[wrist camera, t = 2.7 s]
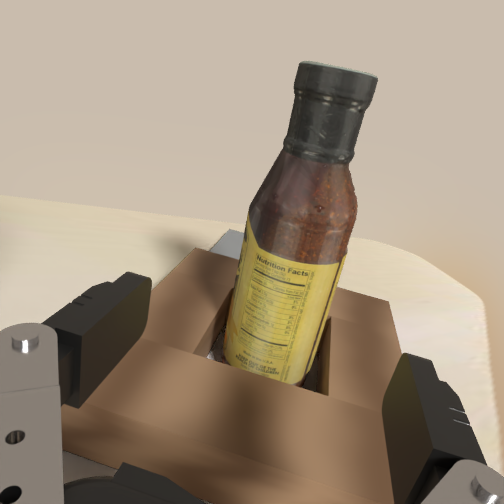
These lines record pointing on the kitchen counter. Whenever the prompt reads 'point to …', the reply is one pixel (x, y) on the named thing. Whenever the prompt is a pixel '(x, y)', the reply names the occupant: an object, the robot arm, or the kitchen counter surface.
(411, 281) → the kitchen counter surface
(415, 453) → the robot arm
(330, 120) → the sauce bottle
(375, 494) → the seat block
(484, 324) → the kitchen counter surface
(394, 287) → the kitchen counter surface
